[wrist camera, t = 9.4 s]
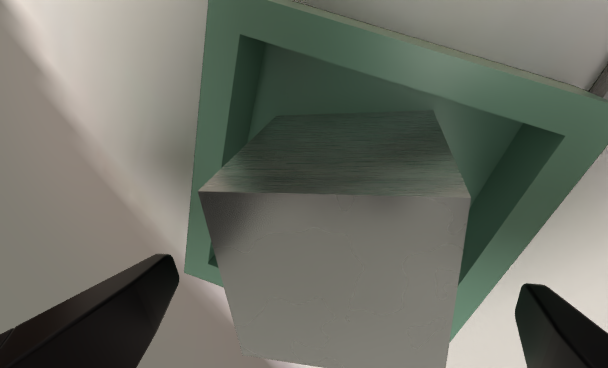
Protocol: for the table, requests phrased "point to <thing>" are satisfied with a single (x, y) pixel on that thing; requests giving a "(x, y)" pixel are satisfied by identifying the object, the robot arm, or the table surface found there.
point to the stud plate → (601, 85)
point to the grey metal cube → (341, 239)
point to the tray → (388, 98)
